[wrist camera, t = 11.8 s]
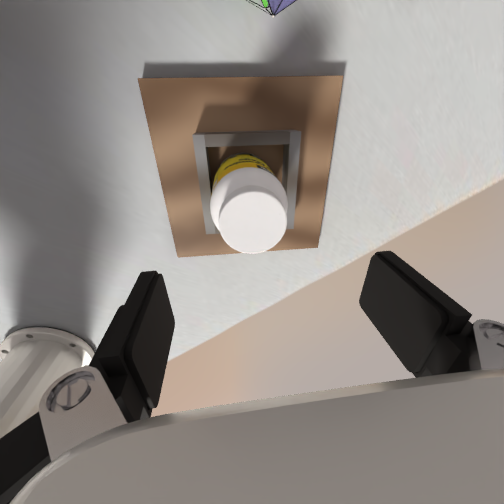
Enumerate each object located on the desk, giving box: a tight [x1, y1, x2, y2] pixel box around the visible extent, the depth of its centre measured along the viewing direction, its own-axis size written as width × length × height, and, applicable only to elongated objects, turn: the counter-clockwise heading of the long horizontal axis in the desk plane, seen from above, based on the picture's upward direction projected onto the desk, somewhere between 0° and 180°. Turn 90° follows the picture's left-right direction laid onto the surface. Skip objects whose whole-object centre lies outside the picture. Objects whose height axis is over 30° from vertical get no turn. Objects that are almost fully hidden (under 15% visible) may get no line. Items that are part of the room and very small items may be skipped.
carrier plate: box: [138, 76, 343, 257], centre depth 24 cm, size 18×18×4 cm
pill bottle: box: [210, 153, 288, 254], centre depth 20 cm, size 6×6×11 cm
